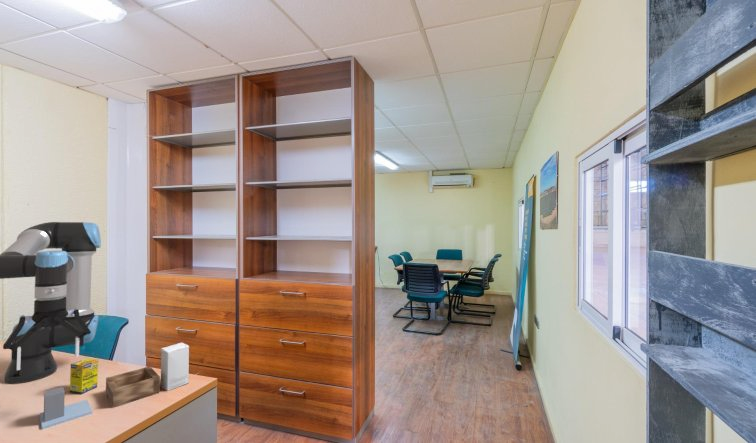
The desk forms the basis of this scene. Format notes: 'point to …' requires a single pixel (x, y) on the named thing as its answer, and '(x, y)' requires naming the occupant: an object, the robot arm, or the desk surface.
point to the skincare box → (174, 366)
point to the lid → (61, 409)
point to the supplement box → (83, 375)
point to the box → (132, 386)
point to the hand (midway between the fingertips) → (49, 362)
